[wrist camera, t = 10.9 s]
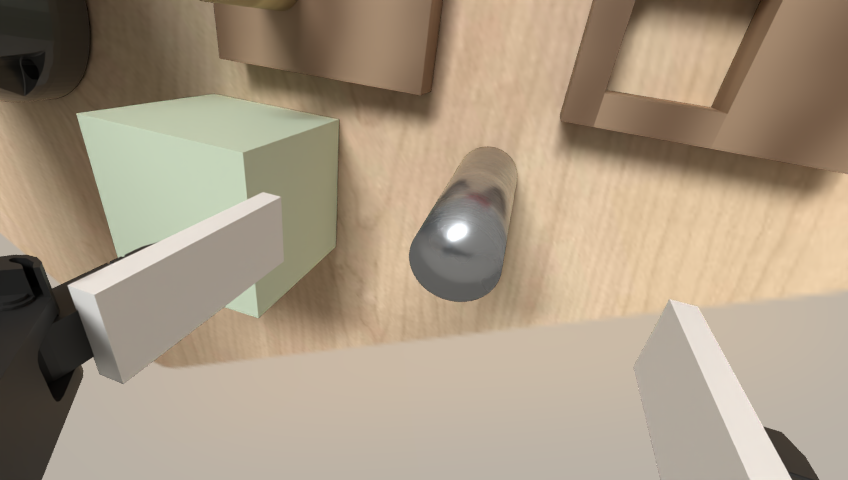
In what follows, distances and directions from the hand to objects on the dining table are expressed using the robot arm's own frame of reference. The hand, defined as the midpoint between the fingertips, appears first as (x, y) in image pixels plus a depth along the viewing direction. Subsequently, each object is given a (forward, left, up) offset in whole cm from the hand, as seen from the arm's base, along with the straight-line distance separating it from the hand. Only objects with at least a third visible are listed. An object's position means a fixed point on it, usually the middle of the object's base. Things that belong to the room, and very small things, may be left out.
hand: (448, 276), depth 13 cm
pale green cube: (-14, -3, -11) cm, 18 cm away
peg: (0, 0, -11) cm, 11 cm away
